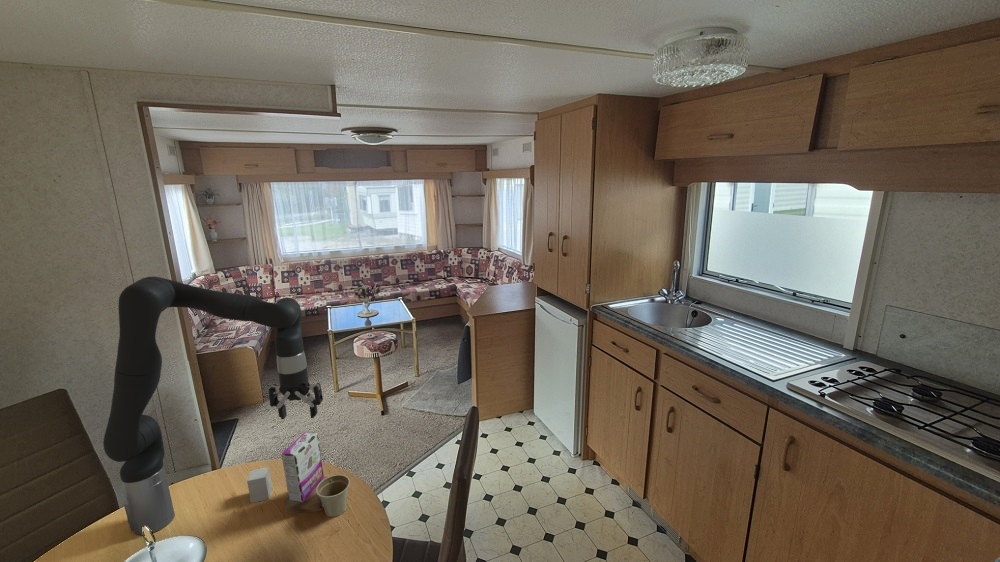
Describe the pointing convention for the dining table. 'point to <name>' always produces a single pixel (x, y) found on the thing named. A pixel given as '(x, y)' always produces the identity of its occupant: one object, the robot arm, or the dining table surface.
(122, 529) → the dining table surface
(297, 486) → the candy bar box
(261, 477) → the grey block
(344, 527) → the dining table surface
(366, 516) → the dining table surface
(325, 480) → the flower pot
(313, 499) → the brown square block
